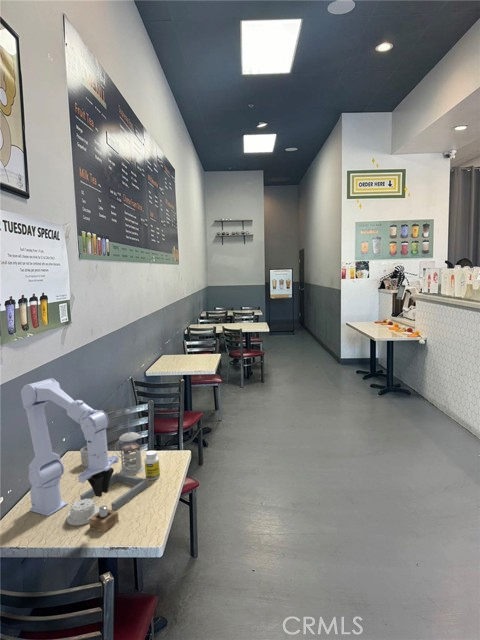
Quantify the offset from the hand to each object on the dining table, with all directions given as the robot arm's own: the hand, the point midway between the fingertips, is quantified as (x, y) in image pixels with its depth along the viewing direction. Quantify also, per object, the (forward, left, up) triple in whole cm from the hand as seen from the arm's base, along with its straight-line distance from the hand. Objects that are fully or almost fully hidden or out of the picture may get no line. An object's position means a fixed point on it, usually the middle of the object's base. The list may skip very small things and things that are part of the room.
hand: (101, 494), depth 123 cm
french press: (-18, +32, -10) cm, 39 cm away
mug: (-39, +33, -10) cm, 52 cm away
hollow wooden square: (0, 0, -10) cm, 10 cm away
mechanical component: (-10, +1, -10) cm, 14 cm away
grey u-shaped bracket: (-10, +16, -10) cm, 21 cm away
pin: (0, 0, -10) cm, 10 cm away
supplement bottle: (-5, +30, -10) cm, 33 cm away
